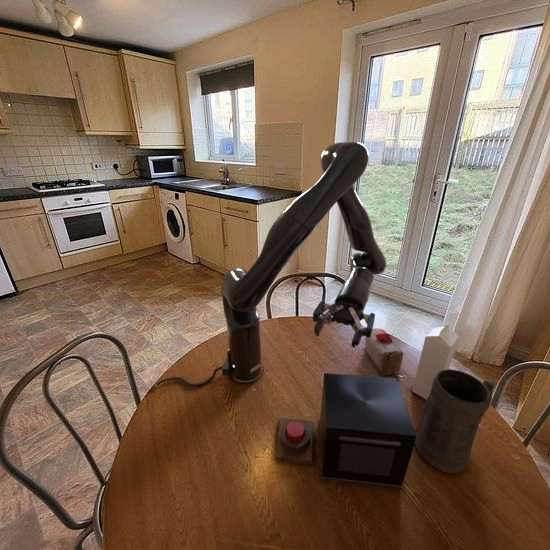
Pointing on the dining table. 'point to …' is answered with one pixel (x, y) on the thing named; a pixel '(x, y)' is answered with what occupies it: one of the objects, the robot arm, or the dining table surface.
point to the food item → (384, 352)
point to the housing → (294, 444)
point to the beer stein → (452, 419)
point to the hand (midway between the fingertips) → (334, 338)
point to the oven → (364, 431)
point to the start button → (295, 431)
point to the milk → (434, 358)
